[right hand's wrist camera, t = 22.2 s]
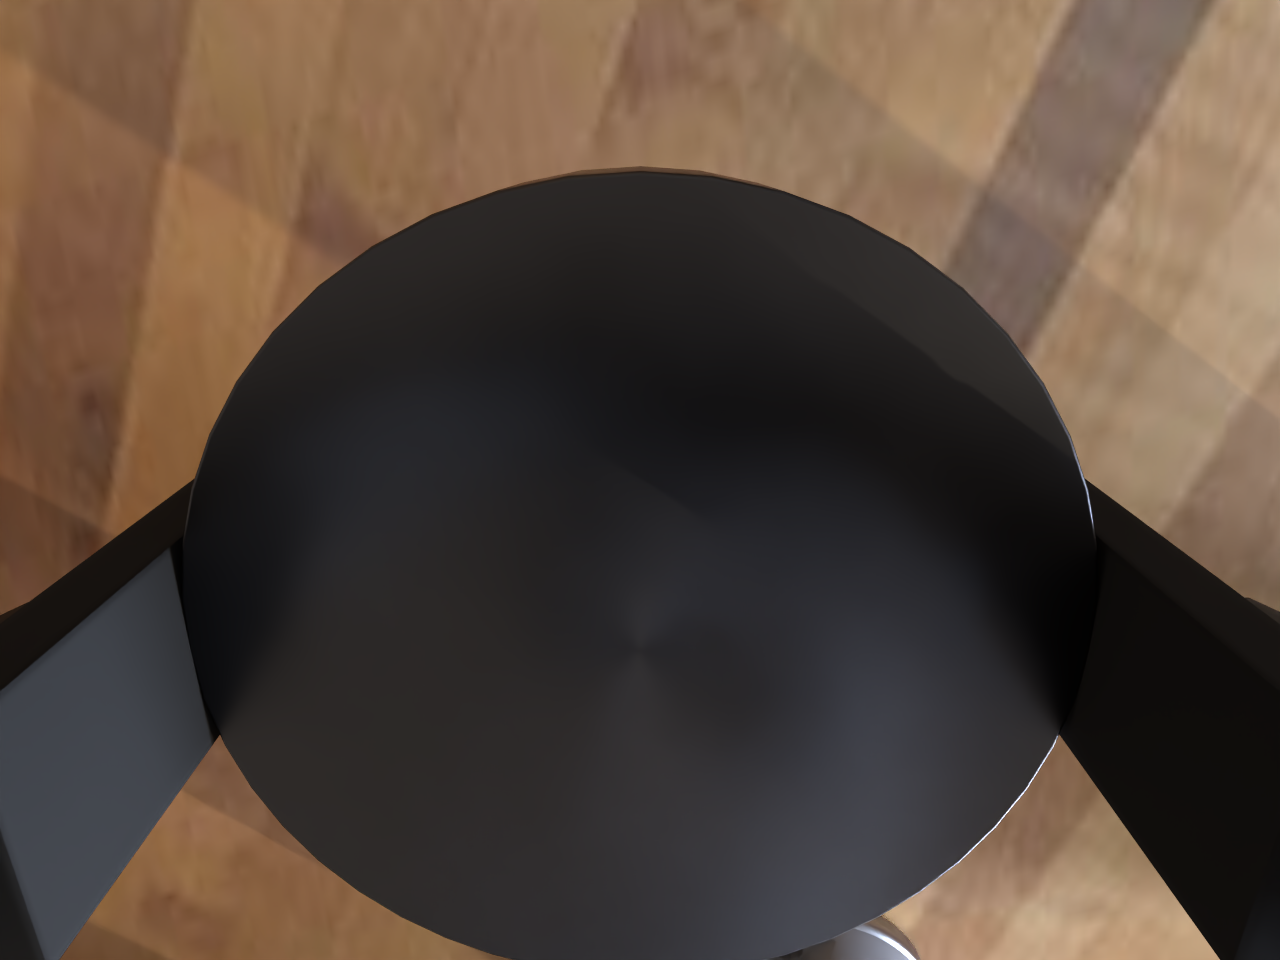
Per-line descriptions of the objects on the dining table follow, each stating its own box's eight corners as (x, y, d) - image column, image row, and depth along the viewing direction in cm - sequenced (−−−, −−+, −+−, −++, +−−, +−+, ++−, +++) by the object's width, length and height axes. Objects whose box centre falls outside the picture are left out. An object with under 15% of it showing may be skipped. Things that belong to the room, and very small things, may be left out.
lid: (1176, 572, 12) (1278, 652, 10) (638, 961, 15) (637, 1083, 13) (640, -50, 9) (642, -101, 7) (102, 568, 12) (0, 649, 10)
